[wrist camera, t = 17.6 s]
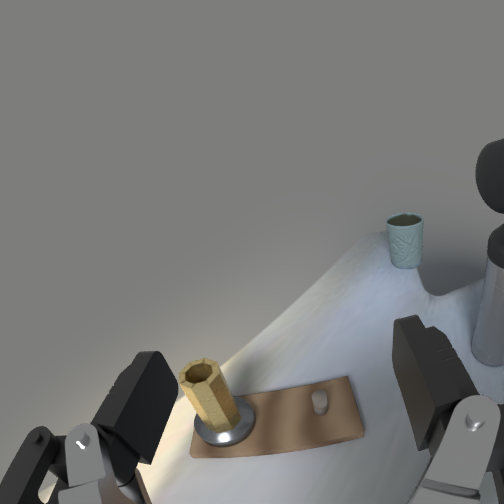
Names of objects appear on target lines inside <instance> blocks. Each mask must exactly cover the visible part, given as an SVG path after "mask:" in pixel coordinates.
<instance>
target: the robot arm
mask: <svg viewBox="0 0 504 504" xmlns="http://www.w3.org/2000/svg"><path fill="white" fill-rule="evenodd" d="M476 183H477V187H478V190H479V193H480V195H481V197H482V199H483V200H484V201H485V203H486V204H487V205H488V206H489V207H490V208H491V209H493V210H494V211H496V212H498V213H502V214H504V139H501V140H498V141H494V142H491V143H489V144H487V145H486V146H485V147H484V148H483V150H482V151H481V153H480V155H479V157H478V160H477V164H476ZM471 349H472V352H473V355H474V356H475V358H476V359H478V360H479V361H480V362H482V363H483V364H486V365H489V366H501V365H504V224H502V225H501V226H500V227H498V228H497V229H495V230H494V231H493V232H492V233H491V235H490V237H489V240H488V250H487V262H486V270H485V279H484V286H483V292H482V298H481V303H480V309H479V314H478V318H477V323H476V327H475V332H474V336H473V340H472V344H471ZM392 362H393V368H394V372H395V375H396V378H397V381H398V384H399V387H400V390H401V393H402V396H403V399H404V403H405V406H406V409H407V412H408V416H409V419H410V423H411V426H412V430H413V433H414V437H415V441H416V444H417V448H418V451H421V450H424V449H427V448H429V451H430V455H431V458H430V460H429V462H428V464H427V466H426V468H425V470H424V472H423V474H422V476H421V478H420V480H419V482H418V483H417V485H416V487H415V489H414V490H413V492H412V494H411V496H410V497H409V499H408V501H407V502H406V504H479V502H480V494H479V487H480V484H481V482H482V479H483V477H484V474H485V472H489V471H492V473H493V478H494V482H495V486H496V491H497V496H498V501H499V504H504V404H502V405H499V404H496V403H495V402H494V401H493V400H492V399H490V398H489V397H486V396H482V395H480V394H479V393H478V391H477V390H476V388H475V386H474V384H473V382H472V380H471V378H470V376H469V374H468V373H467V371H466V369H465V367H464V365H463V364H462V362H461V360H460V358H459V357H458V356H457V353H456V351H455V350H454V348H452V345H451V343H450V341H449V340H448V338H447V336H446V335H445V334H444V333H443V332H441V331H440V330H438V329H437V328H435V327H434V326H433V327H429V328H425V327H424V325H423V323H422V321H421V320H420V318H419V316H418V315H413V316H409V317H405V318H401V319H396V320H395V321H394V330H393V349H392ZM177 395H178V383H177V380H176V378H175V376H174V375H173V373H172V371H171V369H170V368H169V366H168V364H167V362H166V360H165V359H164V357H163V355H162V354H161V353H160V352H159V351H148V352H146V351H145V352H139V353H138V354H137V355H136V357H135V359H134V360H133V362H132V364H131V365H129V366H128V367H127V368H126V369H125V370H124V371H123V372H121V374H120V375H119V376H118V378H117V380H116V381H115V383H114V386H112V388H111V390H110V391H109V394H108V395H107V396H106V398H105V400H104V401H103V403H102V405H101V406H100V408H99V410H98V411H97V413H96V415H95V417H94V418H93V420H92V422H91V423H90V424H87V423H85V424H80V425H78V426H76V427H74V428H73V429H72V430H71V431H70V432H69V433H68V435H66V436H54V435H53V434H52V433H51V431H50V430H49V429H48V428H46V427H44V426H40V427H37V428H35V429H33V430H32V431H31V432H30V433H29V434H28V435H27V437H26V439H25V440H24V442H23V444H22V445H21V447H20V449H19V451H18V452H17V454H16V456H15V458H14V459H13V461H12V463H11V465H10V467H9V468H8V470H7V472H6V474H5V476H4V478H3V480H2V482H1V484H0V504H44V503H43V502H41V500H40V499H39V497H38V490H39V488H40V486H41V484H42V482H43V480H44V477H45V475H46V473H47V471H48V470H49V471H50V472H52V473H53V474H54V475H55V476H57V477H58V481H57V483H56V485H55V487H54V489H53V492H52V494H51V496H50V499H49V501H48V502H47V503H46V504H152V503H151V500H150V498H149V495H148V493H147V490H146V488H145V485H144V482H143V480H142V477H141V474H140V472H139V470H138V469H137V468H136V467H137V464H138V462H139V463H144V464H150V465H151V463H152V460H153V458H154V455H155V452H156V450H157V447H158V444H159V442H160V439H161V437H162V434H163V432H164V429H165V426H166V424H167V421H168V419H169V416H170V413H171V411H172V408H173V406H174V403H175V401H176V398H177Z"/></svg>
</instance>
